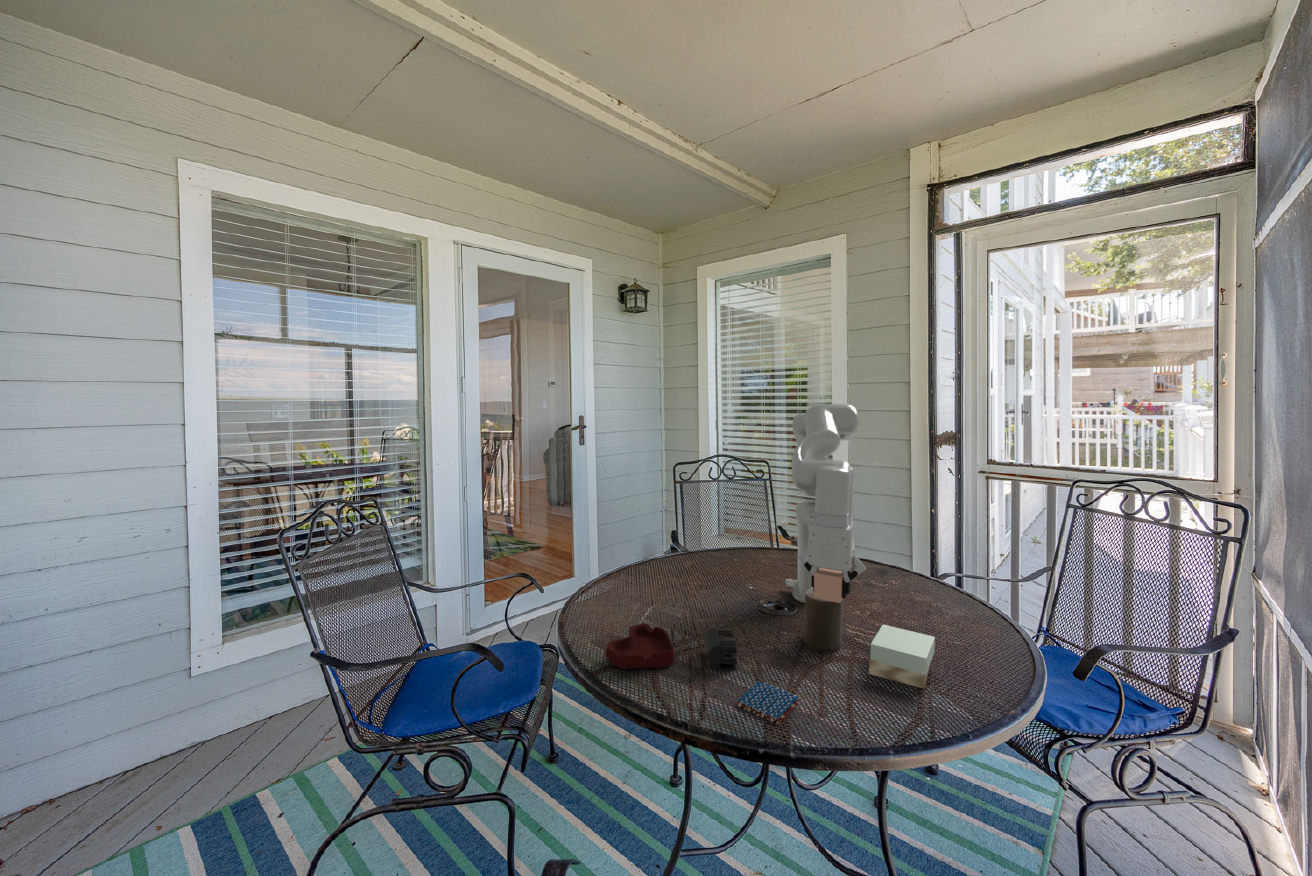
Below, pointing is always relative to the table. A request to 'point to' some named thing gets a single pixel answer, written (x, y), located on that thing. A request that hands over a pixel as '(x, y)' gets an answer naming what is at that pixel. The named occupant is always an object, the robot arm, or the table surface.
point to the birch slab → (897, 674)
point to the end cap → (721, 649)
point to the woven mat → (769, 701)
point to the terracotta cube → (828, 585)
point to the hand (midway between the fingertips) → (830, 592)
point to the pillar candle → (822, 623)
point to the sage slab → (903, 649)
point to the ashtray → (641, 649)
